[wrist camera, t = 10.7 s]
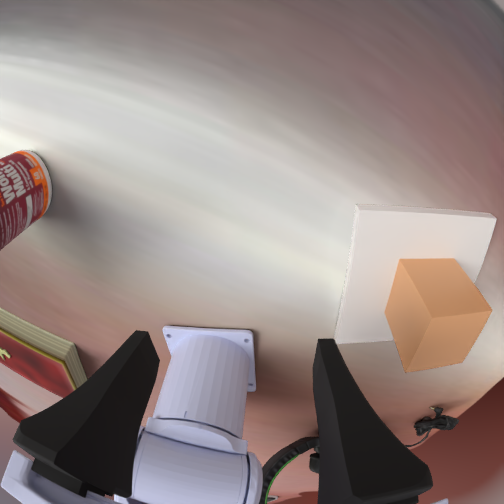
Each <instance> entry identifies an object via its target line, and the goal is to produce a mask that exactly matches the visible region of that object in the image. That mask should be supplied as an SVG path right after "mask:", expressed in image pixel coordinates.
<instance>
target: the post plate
mask: <svg viewBox="0 0 504 504" xmlns="http://www.w3.org/2000/svg"><path fill="white" fill-rule="evenodd" d="M496 220H497V218H495V217H494V216H493V215H492V214H490V213H484V212H474V211H463V210H452V209H439V208H425V207H410V206H392V205H370V204H356V205H355V214H354V223H353V231H352V238H351V245H350V252H349V259H348V265H347V272H346V278H345V283H344V289H343V295H342V300H341V305H340V310H339V315H338V320H337V325H336V330H335V334H334V337H335V342H336V344H348V343H365V342H379V341H391V340H394V338H393V335H392V332H391V329H390V327H389V324H388V321H387V319H386V316H385V313H384V312H385V308H386V305H387V302H388V298H389V295H390V292H391V288H392V284H393V281H394V277H395V273H396V269H397V266H398V262H399V259H430V258H454V259H455V260H456V261H457V263H458V264H459V265H460V266H461V268H462V269H463V270H464V271H465V273H466V274H467V275H468V277H469V278H470V279H471V281H472V282H473V283H474V284H475V282H476V279H477V277H478V274H479V271H480V269H481V266H482V263H483V261H484V258H485V255H486V252H487V249H488V246H489V243H490V240H491V237H492V234H493V230H494V227H495V223H496Z"/></svg>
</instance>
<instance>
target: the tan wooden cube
mask: <svg viewBox="0 0 504 504" xmlns="http://www.w3.org/2000/svg"><path fill="white" fill-rule="evenodd" d="M491 312H492V309H491V307H490V306H489V304H488V303H487V301H486V300H485V299H484V297H483V296H482V294H481V293H480V291H479V290H478V289H477V287H476V286H475V285H474V283H473V282H472V281H471V279H470V278H469V277H468V275H467V274H466V273H465V271H464V270H463V269H462V268H461V266H460V265H459V264H458V263H457V261H456V260H455V259H454V258H430V259H399V262H398V266H397V269H396V273H395V277H394V281H393V284H392V288H391V292H390V295H389V298H388V302H387V305H386V308H385V312H384V313H385V316H386V319H387V321H388V324H389V327H390V329H391V332H392V335H393V338H394V341H395V344H396V346H397V349H398V352H399V355H400V358H401V361H402V365H403V368H404V371H405V373H407V372H414V371H420V370H426V369H432V368H437V367H443V366H448V365H453V364H458V363H462V362H463V361H464V359H465V357H466V356H467V354H468V353H469V351H470V350H471V348H472V346H473V345H474V343H475V341H476V340H477V338H478V336H479V334H480V333H481V331H482V329H483V327H484V325H485V324H486V322H487V320H488V318H489V316H490V314H491Z"/></svg>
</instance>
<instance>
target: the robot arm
mask: <svg viewBox="0 0 504 504" xmlns="http://www.w3.org/2000/svg"><path fill="white" fill-rule="evenodd" d="M163 334H164V337H165V339H166V342H167V345H168V348H169V350H170V353H171V356H172V358H171V361H170V364H169V367H168V370H167V373H166V376H165V379H164V382H163V385H162V388H161V391H160V395H159V398H158V401H157V404H156V407H155V411H154V414H153V417H149V418H148V421H147V424H146V427H143V426H140V425H141V421H142V418H143V415H144V412H145V409H146V407H147V404H148V401H149V398H150V395H151V392H152V389H153V387H154V384H155V381H156V376H157V372H158V367H159V362H160V360H159V357H158V355H157V353H156V350H155V348H154V345H153V343H152V340H151V338H150V335H149V333H148V332H146V331H138V330H136V331H135V332H134V333H133V334H132V335H131V336H130V337H129V338H128V339H127V340H126V341H125V342H124V343H123V345H122V346H121V347H120V348H119V349H118V350H117V351H116V352H115V353H114V354H113V355H112V356H111V357H110V358H109V359H108V360H107V361H106V362H105V364H104V365H103V366H102V367H101V368H99V369H98V370H97V371H96V372H95V373H94V374H93V375H92V376H91V377H90V378H89V379H88V380H87V381H86V382H84V383H83V384H82V385H81V386H80V387H78V388H77V389H76V390H74V391H73V392H72V393H70V394H69V395H68V396H66V397H65V398H63V399H62V400H60V401H59V402H57V403H56V404H54V405H52V406H51V407H49V408H47V409H45V410H43V411H41V412H39V413H37V414H35V415H33V416H31V417H28V418H26V419H23V420H21V422H20V425H19V427H18V429H17V431H16V433H15V436H14V438H13V442H14V443H15V444H17V445H18V446H19V447H21V448H22V449H23V450H25V451H26V452H27V453H29V454H30V455H32V456H33V457H34V458H35V460H34V462H33V461H32V460H30V459H28V458H27V457H25V456H24V455H22V454H20V453H19V452H17V451H16V450H14V451H13V454H12V456H11V458H10V461H9V463H8V466H7V469H6V471H5V474H4V477H3V479H2V482H1V487H2V488H3V489H5V490H6V491H7V492H9V493H10V494H11V495H12V496H14V497H15V498H16V499H17V500H19V501H20V502H21V503H23V504H259V501H260V497H261V492H262V484H263V472H262V466H261V463H260V461H259V460H258V459H257V457H256V455H255V454H254V453H252V452H247V446H248V441H247V440H242V435H243V425H244V416H245V406H246V397H247V392H254V391H255V390H256V376H255V359H254V341H253V333H252V332H251V331H250V330H234V329H211V328H194V327H179V326H164V328H163ZM169 334H170V335H169ZM313 392H314V400H315V407H316V415H317V423H318V431H319V443H320V460H319V490H318V504H416V503H418V495H420V494H422V493H424V492H426V491H428V490H429V489H431V488H432V486H433V481H432V476H431V473H430V470H429V468H428V466H427V465H426V464H425V463H424V462H423V461H421V460H420V459H419V458H418V457H417V456H415V455H414V454H413V453H412V452H411V451H410V450H409V449H408V448H407V447H406V446H405V445H403V444H402V443H401V442H400V440H399V439H398V438H397V437H396V436H395V435H394V434H393V433H392V432H391V431H390V430H389V429H388V428H387V426H386V425H385V424H384V423H383V421H382V420H381V419H380V418H379V416H378V415H377V414H376V413H375V411H374V410H373V408H372V407H371V406H370V404H369V403H368V401H367V400H366V398H365V397H364V395H363V394H362V392H361V391H360V389H359V387H358V386H357V384H356V382H355V380H354V379H353V377H352V375H351V373H350V371H349V370H348V368H347V366H346V364H345V362H344V360H343V358H342V356H341V353H340V351H339V349H338V347H337V344H336V342H335V340H334V339H318V343H317V348H316V354H315V359H314V364H313ZM105 494H106V495H109V496H113V494H115V495H114V501H113V500H111V499H108V498H105V497H104V496H105ZM432 504H448V499H443V500H440V501H438V502H435V503H432Z"/></svg>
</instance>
